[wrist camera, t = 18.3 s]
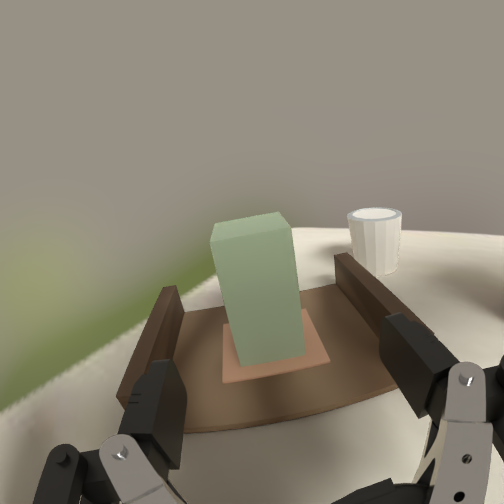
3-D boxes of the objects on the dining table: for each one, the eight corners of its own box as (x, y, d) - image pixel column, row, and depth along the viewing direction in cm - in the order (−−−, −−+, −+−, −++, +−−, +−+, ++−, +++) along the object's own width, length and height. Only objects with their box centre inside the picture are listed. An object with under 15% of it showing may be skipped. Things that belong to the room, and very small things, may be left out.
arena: (348, 285, 31) (346, 252, 30) (423, 377, 16) (434, 333, 15) (173, 319, 31) (162, 287, 29) (141, 433, 16) (115, 396, 14)
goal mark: (305, 310, 27) (305, 308, 27) (330, 362, 19) (330, 360, 19) (223, 326, 27) (223, 324, 27) (223, 383, 19) (222, 381, 19)
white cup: (412, 265, 32) (412, 211, 30) (375, 284, 30) (374, 224, 28) (376, 252, 38) (374, 204, 36) (339, 266, 36) (335, 214, 34)
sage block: (293, 320, 25) (278, 211, 22) (305, 354, 21) (290, 226, 17) (239, 331, 25) (214, 223, 22) (240, 366, 21) (209, 241, 17)
